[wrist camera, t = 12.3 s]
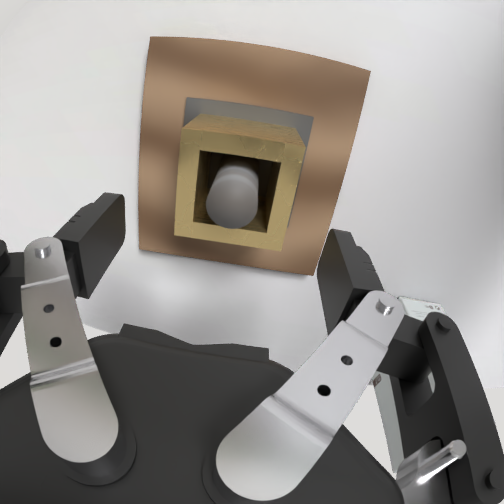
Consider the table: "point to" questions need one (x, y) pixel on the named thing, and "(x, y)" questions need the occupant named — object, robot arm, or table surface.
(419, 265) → the table surface
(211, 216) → the post stand
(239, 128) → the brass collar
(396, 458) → the skincare box
